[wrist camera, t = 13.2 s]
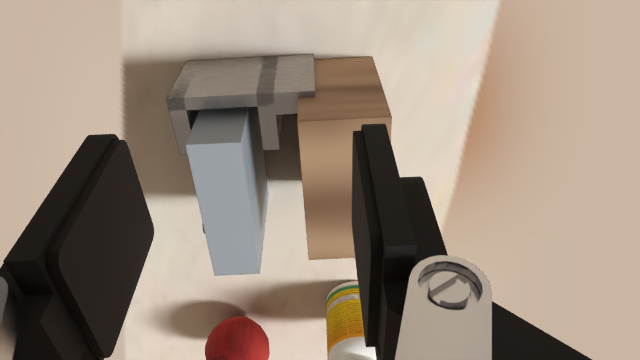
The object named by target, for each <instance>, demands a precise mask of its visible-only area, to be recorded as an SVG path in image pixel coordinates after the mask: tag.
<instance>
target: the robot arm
mask: <svg viewBox="0 0 640 360" xmlns="http://www.w3.org/2000/svg"><path fill="white" fill-rule="evenodd" d="M352 233H353V242H354V251H355V259H356V268H357V277H358V286H359V294H360V303H361V312H362V321H363V330H364V338H365V345H366V347H375V352H376V360H592V359H590V358H588V357H587V356H585V355H583V354H581V353H580V352H578V351H576V350H575V349H573V348H571V347H569V346H568V345H566V344H564V343H562V342H561V341H559V340H557V339H556V338H554V337H552V336H551V335H549V334H547V333H545V332H544V331H542V330H540V329H539V328H537V327H535V326H533V325H532V324H530V323H528V322H526V321H525V320H523V319H522V318H520V317H518V316H516V315H515V314H513V313H511V312H510V311H508V310H506V309H504V308H503V307H501V306H499V305H497V304H496V303H494V302H492V291H491V285H490V282H489V280H488V279H487V277H486V275H485V274H484V273H483V272H482V271H481V270H480V269H479V268H478V267H477V266H476V265H474V264H472V263H470V262H468V261H466V260H465V259H461V258H458V257H454V256H448V255H447V251H446V249H445V245H444V242H443V239H442V236H441V233H440V230H439V227H438V224H437V220H436V217H435V214H434V211H433V208H432V205H431V202H430V199H429V196H428V193H427V189H426V186H425V183H424V181H423V178H422V177H399V173H398V169H397V165H396V161H395V157H394V154H393V150H392V146H391V142H390V138H389V134H388V131H387V127H386V124H385V123H382V124H362V126H361V130H360V131H353V143H352ZM153 237H154V227H153V223H152V220H151V217H150V213H149V210H148V207H147V204H146V201H145V198H144V195H143V192H142V189H141V186H140V182H139V179H138V176H137V173H136V170H135V167H134V164H133V161H132V158H131V155H130V151H129V148H128V145H127V143H126V142H125V141H124V140H119V138H118V137H117V136H116V135H115V134H105V135H88V136H87V137H86V139H85V140H84V142H83V143H82V145H81V146H80V148H79V149H78V151H77V152H76V154H75V155H74V157H73V158H72V160H71V161H70V163H69V164H68V166H67V167H66V168H65V170H64V172H63V173H62V175H61V176H60V177H59V179H58V180H57V182H56V183H55V185H54V187H53V188H52V190H51V191H50V193H49V194H48V195H47V197H46V198H45V200H44V201H43V203H42V204H41V206H40V207H39V209H38V210H37V212H36V213H35V215H34V216H33V218H32V219H31V221H30V222H29V224H28V225H27V227H26V228H25V230H24V231H23V233H22V234H21V236H20V237H19V239H18V240H17V242H16V243H15V245H14V246H13V248H12V249H11V251H10V252H9V254H8V255H7V257H6V258H5V259H4V261H3V262H4V264H3V265H2V267H1V268H0V360H104V358H108V357H110V356H111V355H112V353H113V351H114V348H115V345H116V342H117V339H118V337H119V334H120V331H121V328H122V325H123V322H124V320H125V317H126V314H127V311H128V308H129V306H130V303H131V300H132V297H133V294H134V291H135V289H136V286H137V283H138V280H139V277H140V275H141V272H142V269H143V266H144V263H145V260H146V258H147V255H148V252H149V249H150V246H151V243H152V241H153Z"/></svg>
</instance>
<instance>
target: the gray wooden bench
mask: <svg viewBox="0 0 640 360" xmlns="http://www.w3.org/2000/svg"><path fill="white" fill-rule="evenodd" d="M306 97H315V77H314V54H306V55H287V56H269V57H250V58H232V59H213V60H194V61H187V62H186V64H185V65H184V67H183V69H182V71H181V73H180V74H179V76H178V78H177V80H176V82H175V83H174V85H173V87H172V89H171V91H170V92H169V94H168V96H167V98H166V100H167V104H168V108H169V113H170V117H171V121H172V125H173V129H174V133H175V137H176V141H177V145H178V149H179V153H180V155H185V154H187V149H186V143H187V140H188V138H189V135H190V133H191V130H192V128H193V125H194V123H195V120H196V118H197V115H198V113H199V110H200V109H218V108H237V107H256V106H258V113H259V120H260V128H261V136H262V143H263V150H280V138H281V126H282V115H283V114H298V98H306Z"/></svg>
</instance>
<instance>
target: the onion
mask: <svg viewBox="0 0 640 360" xmlns="http://www.w3.org/2000/svg"><path fill="white" fill-rule="evenodd" d="M205 356H206V360H268V358H269V341H268V337H267V336H266V334H265V332H264V331H263V329H262V328H261V326H260V325H258V324H257V323H256V322H254V321H253V320H251V319H249V318H248V317H245V316H234V317H230V318H228V319H226V320H224V321H223V322H221V323H219V324H218V325H217V326H216V327H215V328H214V329H213V330H212V332H211V334H210V335H209V337H208V340H207V342H206V345H205Z"/></svg>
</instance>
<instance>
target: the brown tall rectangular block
mask: <svg viewBox="0 0 640 360" xmlns="http://www.w3.org/2000/svg"><path fill="white" fill-rule="evenodd" d="M314 77H315V97H306V98H298V119H297V123H298V135H299V148H300V160H301V172H302V184H303V197H304V209H305V221H306V233H307V246H308V258H309V260H317V259H337V258H355V251H354V242H353V233H352V143H353V131H360V130H361V126H362V124H382V123H385V124H386V127H387V131H388V134H389V138H390V142H391V124H392V116H391V113H390V110H389V107H388V104H387V101H386V97H385V94H384V91H383V88H382V85H381V82H380V79H379V76H378V73H377V69H376V66H375V63H374V60H373V57H356V58H337V59H319V60H314Z"/></svg>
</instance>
